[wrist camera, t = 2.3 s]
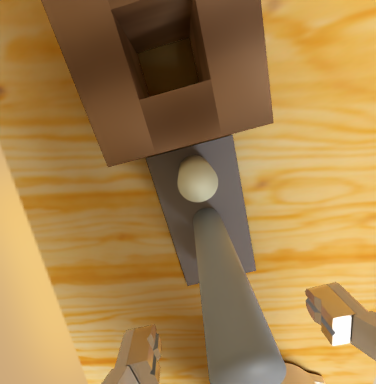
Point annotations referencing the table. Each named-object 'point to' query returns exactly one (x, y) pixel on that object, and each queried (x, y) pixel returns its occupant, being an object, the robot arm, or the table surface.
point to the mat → (221, 201)
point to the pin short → (196, 179)
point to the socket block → (172, 100)
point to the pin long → (231, 311)
